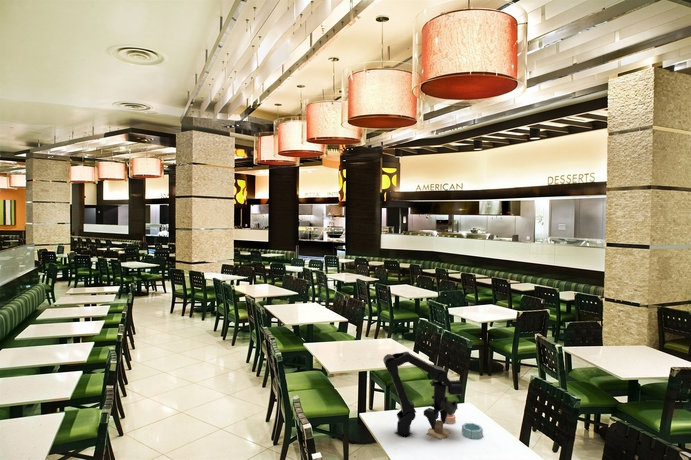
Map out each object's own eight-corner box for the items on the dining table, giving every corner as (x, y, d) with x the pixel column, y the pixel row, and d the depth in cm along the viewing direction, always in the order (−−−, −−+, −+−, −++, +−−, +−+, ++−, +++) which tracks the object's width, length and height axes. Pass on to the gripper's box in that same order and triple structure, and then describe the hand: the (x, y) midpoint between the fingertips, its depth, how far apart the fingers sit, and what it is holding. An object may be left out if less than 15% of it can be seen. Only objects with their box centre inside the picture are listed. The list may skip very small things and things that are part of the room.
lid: (442, 440, 215) (442, 428, 215) (423, 433, 222) (424, 421, 222) (452, 433, 223) (453, 421, 223) (434, 427, 230) (435, 415, 229)
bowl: (476, 441, 216) (476, 433, 216) (459, 435, 222) (459, 427, 222) (484, 435, 223) (485, 427, 223) (467, 429, 229) (468, 421, 229)
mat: (440, 440, 216) (440, 439, 216) (425, 435, 221) (425, 434, 221) (450, 433, 224) (451, 433, 224) (436, 428, 229) (436, 427, 229)
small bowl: (450, 426, 232) (450, 419, 232) (438, 421, 237) (438, 414, 237) (457, 421, 237) (457, 415, 237) (445, 417, 242) (445, 411, 242)
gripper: (444, 404, 210) (443, 438, 210) (464, 394, 224) (462, 426, 224) (423, 397, 217) (422, 430, 218) (443, 388, 231) (442, 418, 231)
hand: (438, 426), depth 222 cm, fingers open, 9 cm apart
